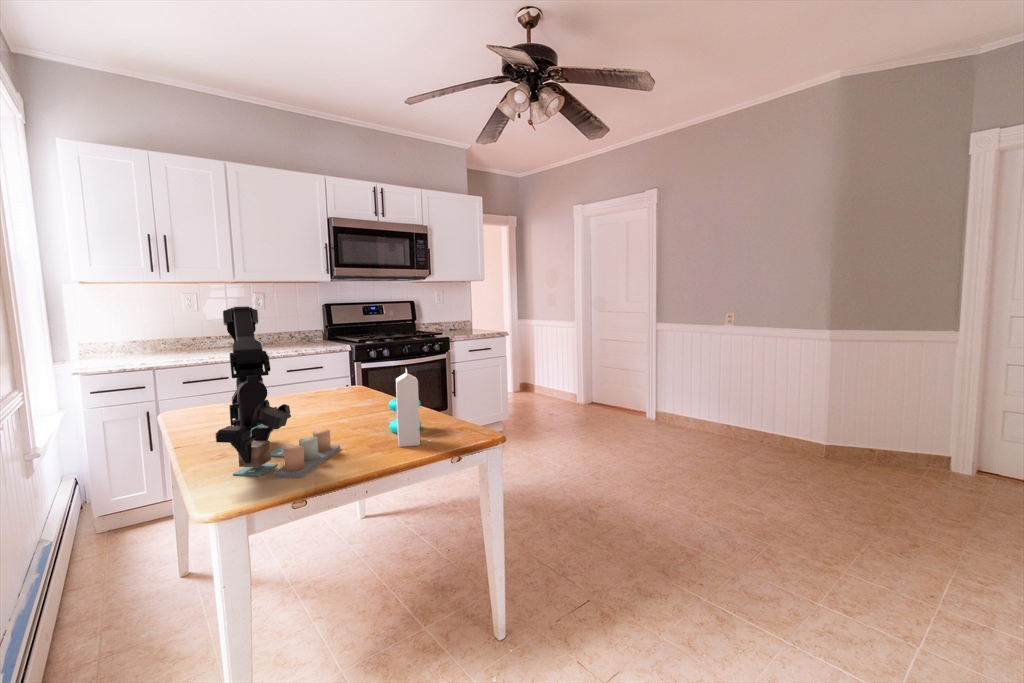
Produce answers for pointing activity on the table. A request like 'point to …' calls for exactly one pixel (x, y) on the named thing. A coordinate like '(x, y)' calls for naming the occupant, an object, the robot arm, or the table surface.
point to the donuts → (394, 423)
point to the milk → (407, 410)
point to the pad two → (255, 470)
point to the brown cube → (257, 454)
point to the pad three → (278, 452)
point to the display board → (307, 464)
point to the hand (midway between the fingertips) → (254, 459)
